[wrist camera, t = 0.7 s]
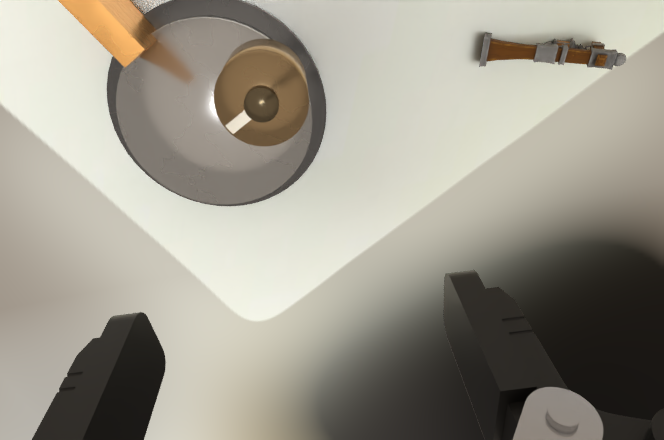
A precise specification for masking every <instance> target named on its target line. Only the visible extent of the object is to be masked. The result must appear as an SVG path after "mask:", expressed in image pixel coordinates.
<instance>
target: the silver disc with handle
mask: <svg viewBox="0 0 664 440" xmlns="http://www.w3.org/2000/svg"><path fill="white" fill-rule="evenodd" d="M58 1H59V2H60V3H61V4H62V5H63V6H64V7H65V8H66V9H67V10H68V11H69V12H70V13H71V14H72V15H73V16H74V17H75V18H76V19H77V20H78V21H79V22H80V23H81V24H82V25H83V26H84V27H85V28H86V29H87V30H88V31H89V32H90V33H91V34H92V35H93V36H94V37H95V38H96V39H97V40H98V41H99V42H100V43H101V44H102V45H103V46H104V47H105V48H106V49H107V50H108V51H109V52H110V53H111V54H112V55H113V56H114V57H115V58H116V59H117V60H118V61H119V62H120V63H121V64H122V65H123V66H124V67H123V69H122V71H121V73H120V77H119V81H118V85H117V92H116V111H117V117H118V123H119V126H120V129H121V132H122V135H123V137H124V140H125V142H126V144H127V146H128V148H129V149H130V151H131V153H132V154H133V156H134V157H135V159H136V160H137V161H138V162H139V164H140V165H141V166H142V167H143V168H144V169H145V170H146V171H147V172H148V173H149V174H150V175H151V176H152V177H153V178H154V179H156V180H157V181H158V182H159V183H161V184H162V185H164V186H165V187H167V188H168V189H170V190H172V191H174V192H176V193H178V194H180V195H182V196H185V197H187V198H190V199H193V200H196V201H200V202H204V203H211V204H227V205H228V204H239V203H244V202H249V201H252V200H255V199H258V198H261V197H263V196H265V195H267V194H270V193H271V192H273V191H274V190H276V189H278V188H279V187H280V186H281V185H283V184H284V183H285V182H286V181H287V180H288V179H289V178H290V177H291V176H292V175H293V174H294V173H295V171H296V170H297V169H298V167H299V166H300V164H301V162H302V160H303V158H304V157H305V155H306V152H307V149H308V146H309V143H310V138H311V133H312V110H311V103H310V98H309V109H308V114H307V117H306V120H305V122H304V124H303V126H302V127H301V129H300V130H299V131H298V132H297V133H296V134H295V135H294V136H293V137H292V138H290V139H289V140H287V141H285V142H283V143H281V144H278V145H274V146H266V147H264V146H254V145H250V144H247V143H245V142H242V141H240V140H239V139H237V138H236V137H234V136H233V135H231V134H230V133H229V132H228V131H227V130H226V128H225V127H224V126H223V125H222V123H221V122H220V120H219V118H218V116H217V113H216V110H215V106H214V88H215V84H216V81H217V78H218V77H219V75H220V73H221V71H222V69H223V67H224V66H225V64H226V62H227V60H228V58H229V56H230V55H231V54H232V52H233V51H234V50H235V49H236V48H237V47H239V46H240V45H242V44H243V43H245V42H248V41H250V40H254V39H271V40H274V39H272V38H271V37H270V36H268V35H267V34H265V33H264V32H262V31H261V30H259V29H257V28H255V27H253V26H251V25H249V24H247V23H244V22H242V21H239V20H236V19H232V18H227V17H223V16H213V15H201V16H191V17H187V18H182V19H179V20H176V21H173V22H171V23H168V24H166V25H165V26H163V27H161V28H159V29H157V30H156V29H155V28H154V27H153V25H152V24H151V23H150V22H149V21H148V20H147V19H146V18H145V17H144V16H143V14H142V13H141V12H140V11H139V10H138V9H137V8H136V7H135V6H134V5H133V3H132V2H131V1H130V0H58ZM308 95H309V93H308Z"/></svg>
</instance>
